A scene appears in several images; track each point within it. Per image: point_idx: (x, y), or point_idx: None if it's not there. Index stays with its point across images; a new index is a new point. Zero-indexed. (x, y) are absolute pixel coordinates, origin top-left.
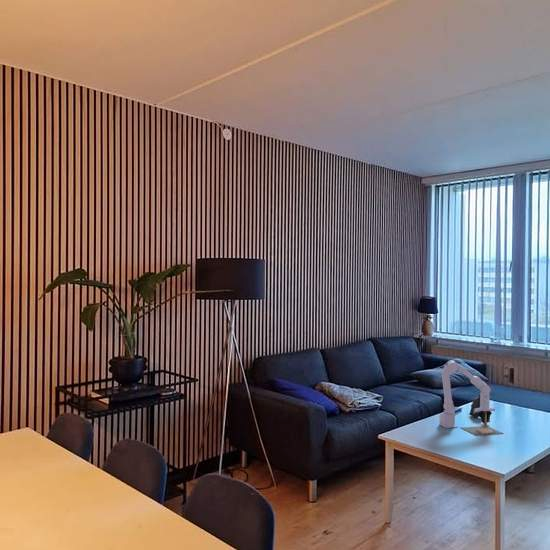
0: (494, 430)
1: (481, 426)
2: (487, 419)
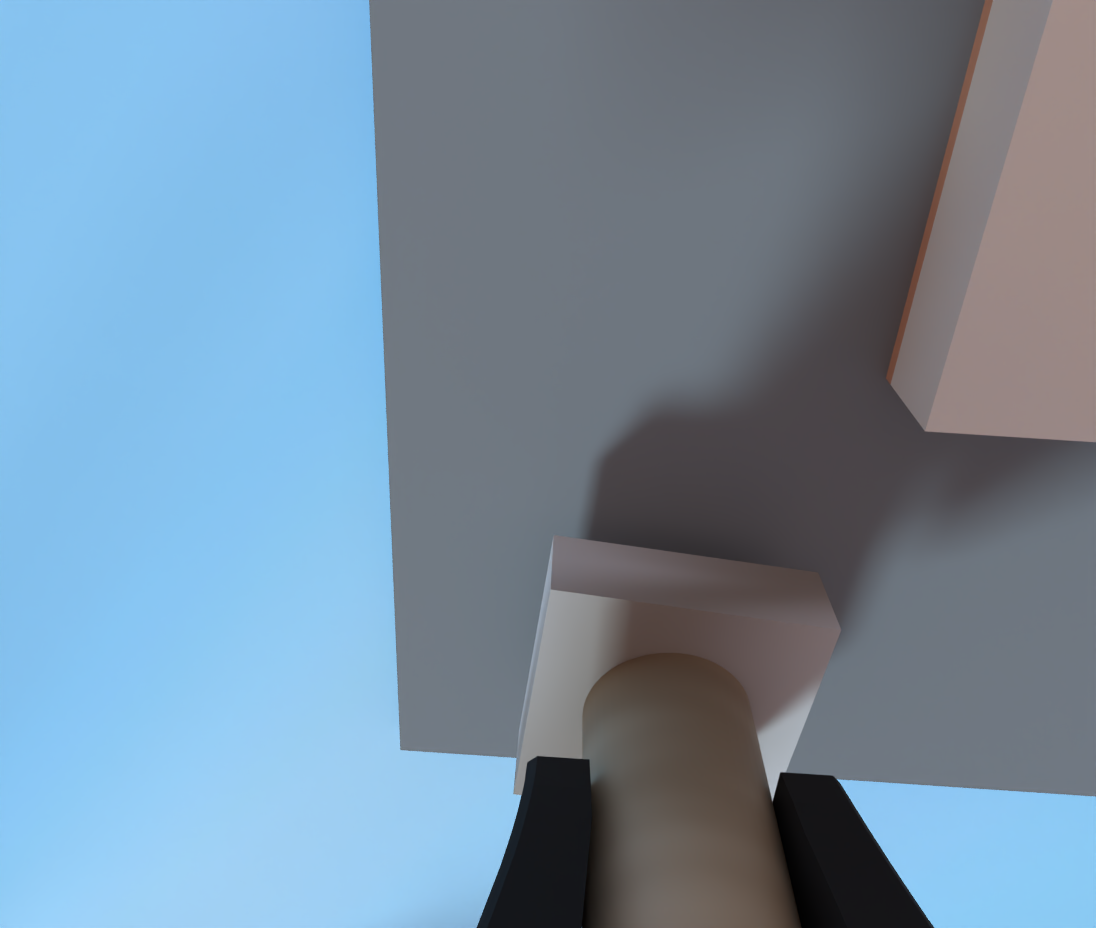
0: (531, 139)
1: None
2: (579, 921)
